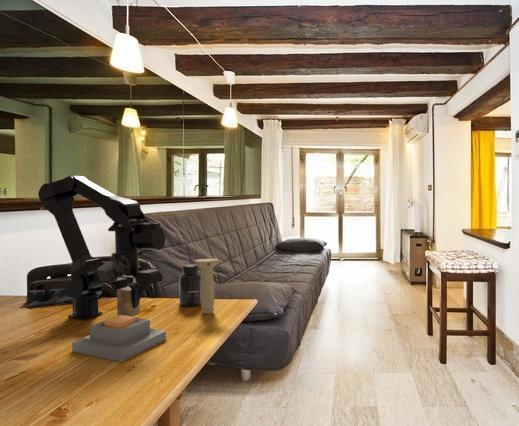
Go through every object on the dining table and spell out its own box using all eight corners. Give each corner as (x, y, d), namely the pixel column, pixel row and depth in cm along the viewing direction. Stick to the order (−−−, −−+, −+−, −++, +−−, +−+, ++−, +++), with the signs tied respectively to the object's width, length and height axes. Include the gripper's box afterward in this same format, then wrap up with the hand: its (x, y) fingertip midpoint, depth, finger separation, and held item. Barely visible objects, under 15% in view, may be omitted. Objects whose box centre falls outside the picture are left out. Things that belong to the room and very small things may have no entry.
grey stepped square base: (72, 351, 88) (71, 328, 88) (120, 331, 101) (120, 311, 101) (121, 362, 82) (120, 337, 82) (166, 339, 95) (165, 318, 94)
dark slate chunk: (100, 303, 130) (100, 288, 129) (21, 310, 123) (21, 294, 123) (103, 292, 144) (103, 279, 144) (33, 298, 138) (33, 284, 137)
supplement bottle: (191, 308, 121) (191, 267, 120) (174, 305, 124) (173, 265, 124) (206, 302, 127) (206, 264, 126) (190, 300, 130) (189, 262, 130)
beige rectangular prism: (117, 315, 108) (116, 289, 108) (128, 311, 111) (127, 286, 111) (129, 317, 106) (128, 290, 106) (140, 313, 110) (139, 287, 109)
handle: (220, 314, 115) (219, 260, 114) (197, 316, 112) (196, 262, 112) (216, 309, 119) (216, 258, 118) (194, 311, 117) (193, 259, 116)
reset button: (104, 332, 90) (104, 320, 90) (120, 326, 94) (119, 314, 94) (120, 335, 88) (120, 322, 88) (135, 329, 92) (135, 317, 92)
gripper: (76, 250, 105) (78, 311, 106) (132, 254, 97) (133, 319, 97) (109, 245, 115) (111, 300, 116) (162, 248, 107) (164, 307, 107)
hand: (128, 307), depth 109 cm, fingers closed on beige rectangular prism, 4 cm apart
